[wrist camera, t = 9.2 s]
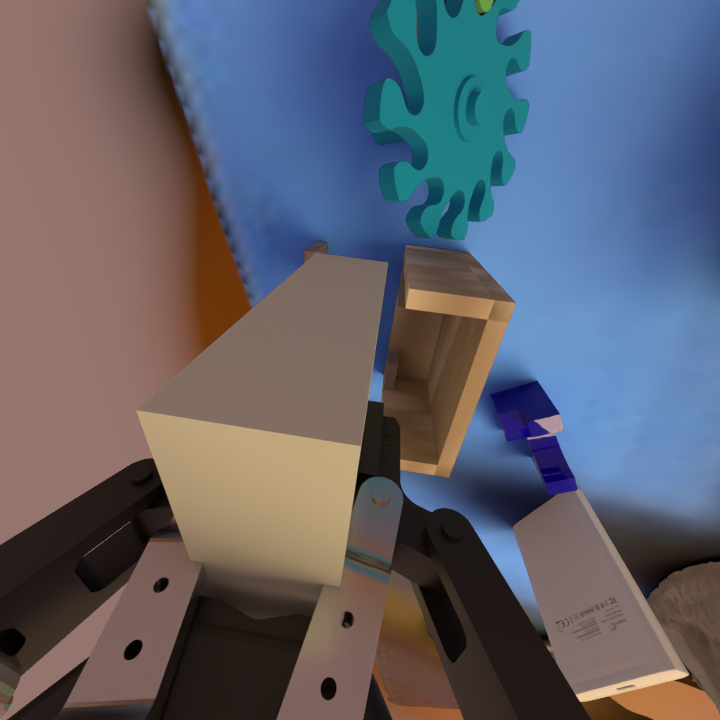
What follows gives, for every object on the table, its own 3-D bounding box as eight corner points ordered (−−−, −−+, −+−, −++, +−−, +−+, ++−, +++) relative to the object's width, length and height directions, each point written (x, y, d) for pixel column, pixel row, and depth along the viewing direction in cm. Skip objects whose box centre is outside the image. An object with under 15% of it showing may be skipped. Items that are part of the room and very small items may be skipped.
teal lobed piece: (520, 226, 17) (396, 263, 12) (435, 223, 21) (314, 249, 16) (574, -87, 12) (386, -276, 6) (445, -11, 16) (264, -89, 10)
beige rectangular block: (388, 262, 12) (360, 446, 4) (360, 450, 18) (324, 694, 10) (292, 249, 13) (63, 399, 4) (294, 440, 18) (201, 669, 10)
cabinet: (469, 252, 19) (516, 302, 11) (433, 382, 24) (448, 477, 17) (317, 233, 20) (262, 268, 12) (313, 364, 25) (274, 449, 17)
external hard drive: (584, 490, 28) (693, 676, 18) (523, 532, 33) (582, 703, 22) (570, 484, 28) (672, 668, 18) (510, 526, 32) (563, 696, 22)
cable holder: (489, 393, 24) (504, 428, 21) (536, 379, 23) (560, 414, 20) (512, 459, 28) (528, 499, 24) (554, 450, 27) (577, 490, 23)
